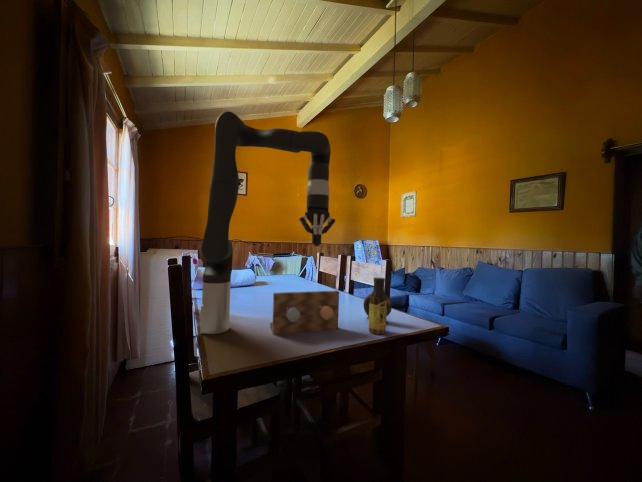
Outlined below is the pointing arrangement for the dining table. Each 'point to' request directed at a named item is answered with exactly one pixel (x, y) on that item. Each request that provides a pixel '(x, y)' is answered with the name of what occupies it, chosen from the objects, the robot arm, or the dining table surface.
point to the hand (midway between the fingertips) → (316, 245)
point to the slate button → (292, 314)
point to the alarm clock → (367, 303)
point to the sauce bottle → (378, 307)
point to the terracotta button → (326, 312)
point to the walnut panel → (304, 311)
